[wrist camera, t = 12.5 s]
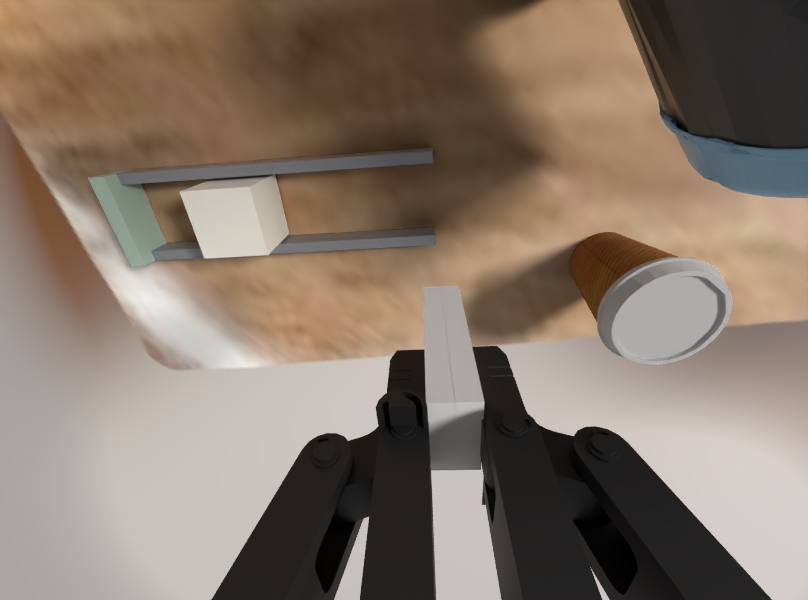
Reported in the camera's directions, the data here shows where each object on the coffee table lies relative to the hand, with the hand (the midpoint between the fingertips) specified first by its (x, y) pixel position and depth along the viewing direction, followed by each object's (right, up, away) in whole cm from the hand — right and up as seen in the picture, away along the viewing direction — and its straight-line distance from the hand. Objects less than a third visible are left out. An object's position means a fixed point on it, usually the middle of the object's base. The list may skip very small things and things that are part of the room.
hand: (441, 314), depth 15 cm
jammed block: (-17, +10, +21) cm, 29 cm away
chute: (-13, +10, +20) cm, 26 cm away
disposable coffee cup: (+19, +5, +22) cm, 30 cm away
